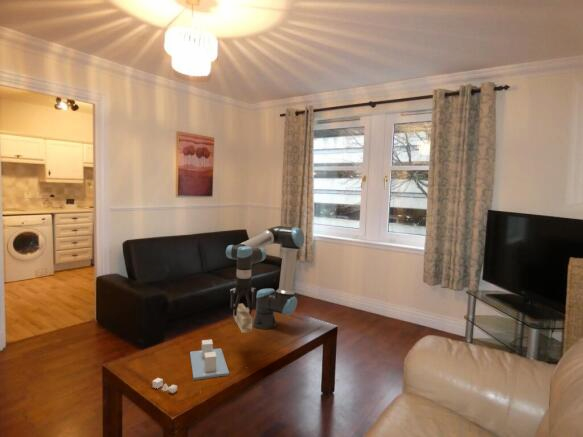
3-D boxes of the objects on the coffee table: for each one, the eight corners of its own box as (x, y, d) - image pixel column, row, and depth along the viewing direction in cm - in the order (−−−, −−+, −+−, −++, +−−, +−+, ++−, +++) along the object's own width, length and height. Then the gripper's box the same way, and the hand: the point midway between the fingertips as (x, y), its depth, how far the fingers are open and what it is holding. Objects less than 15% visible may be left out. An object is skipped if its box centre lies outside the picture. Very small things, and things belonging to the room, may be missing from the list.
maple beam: (242, 315, 190) (242, 303, 189) (252, 331, 169) (252, 317, 169) (233, 316, 188) (233, 304, 188) (241, 332, 168) (242, 318, 167)
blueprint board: (220, 350, 186) (221, 335, 185) (228, 375, 161) (229, 358, 161) (190, 353, 180) (190, 338, 180) (193, 380, 156) (193, 362, 155)
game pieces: (152, 388, 149) (152, 380, 149) (158, 384, 152) (158, 377, 152) (173, 395, 144) (173, 388, 144) (178, 391, 147) (178, 384, 147)
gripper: (227, 279, 170) (225, 325, 172) (262, 278, 177) (261, 322, 178) (224, 275, 177) (223, 320, 179) (259, 274, 184) (257, 317, 185)
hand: (242, 321), depth 179 cm, fingers closed on maple beam, 5 cm apart
